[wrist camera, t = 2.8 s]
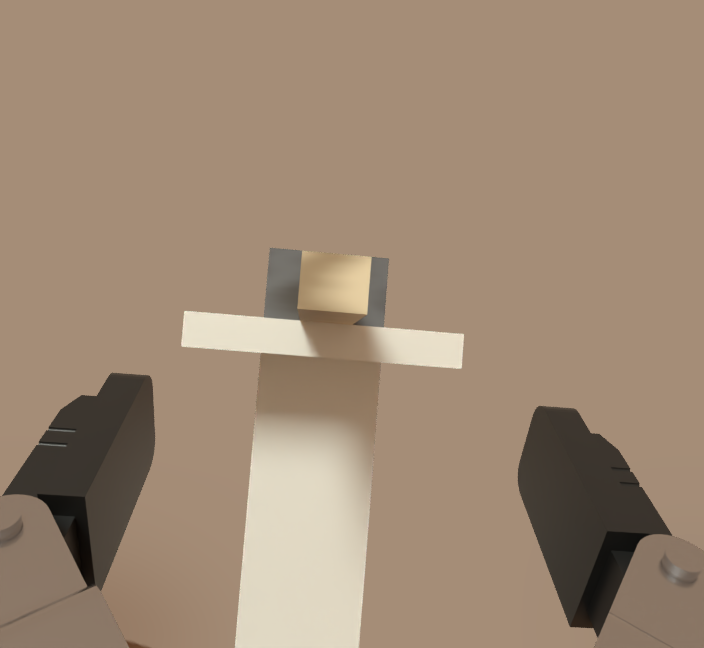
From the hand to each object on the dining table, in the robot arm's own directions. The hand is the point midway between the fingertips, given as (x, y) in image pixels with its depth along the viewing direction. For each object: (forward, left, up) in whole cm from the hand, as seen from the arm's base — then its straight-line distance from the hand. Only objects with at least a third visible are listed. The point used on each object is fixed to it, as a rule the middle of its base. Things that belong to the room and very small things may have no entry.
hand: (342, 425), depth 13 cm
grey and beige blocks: (0, +25, +3) cm, 25 cm away
